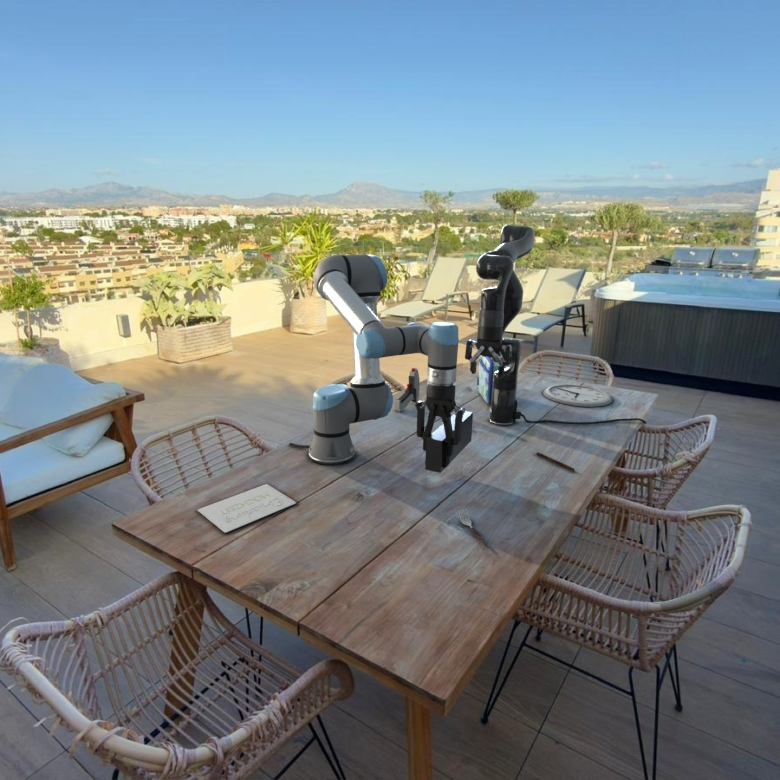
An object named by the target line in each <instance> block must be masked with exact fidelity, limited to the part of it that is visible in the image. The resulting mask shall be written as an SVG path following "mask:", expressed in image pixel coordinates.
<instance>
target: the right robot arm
mask: <svg viewBox="0 0 780 780" xmlns="http://www.w3.org/2000/svg"><path fill="white" fill-rule="evenodd" d="M535 239H536V232H535V229H534V228H533V227H531V226H527V225H516V224H505V225H504V226H503V227H502V229H501V232H500V236H499V246H497V247H496V248H495V249H494V250H491V251H488V252H485V253H484V254H482V255H481V256H480V257H479V258H478V260H477V262H476V264H475V272H476V275H477V276H478V277H479V278H480V279H481V280H485V281H487V280H488V281H497V285H496V286H492V287H487V288H483V289H482V290H481V292H480V299H479V300H480V301H479V311H478V317H477V333H476V340H473V339H469V340H467V341H466V343H465V344H466V345H465V353H464V359H465V360H468V361H469V362H470V365H469V371H470V373H471V375H475V374H476V373H477V366H478V361H477V360H478V359H480V358H481V355H482V356H483V357H486V356H487V357H490V358H492V361H493V362H497V363H498V364H499V365H500V366H499V367H498V370H497V371H495V372H494V374H493V385H492V398H491V404H490V407H489V412H490V413H489V414H490V415H489V422H490V423H491V424H494V425H497V426H511V425H513V424H516V423H517V420H521V417H522V418H523V421H524V422H526V423H527V424H528V423H529V424H530V423H531V424H536V423H537V424H538V423H553V424H564V425H597V424H605V423H613V422H614V423H615V422H626V421H627V422H630V421H631V422H632V421H640V422H642V423H643V424H645V425H647V424H648V422H647V421H645V420H644V419H642V418H638V417H633V418H632V417H631V418H615V419H614V418H613V419H608V420H607V419H606V420H598V421H597V420H596V421H563V420H551V419H539V420H534V421H533V420H529V419H527V417H526V416H525V415H524V414H523V413H522V411H520V410H519V409H518V399H517V388H518V377H519V376H518V375H519V366H520V359H521V353H522V343H521V341H520V340H519V339H518V338H517V339H516V338H503V335H504V333H505V331H506V329H507V328H508V326H509V325H510V324H511V323H512V322H513V320H514V319H515V318H517V316H518V314H519V313H520V311H521V310H522V307H523V300H524V299H523V298H524V288H523V285H522V282H521V280H520V279H519V277H518V275H517V273H516V271H515V269H514V266H515V265H514V264H515V262H516V261H517V260H520V259H521V258H523V257H525V256H527V255H528V254H530V253H531V252H532V251H533V249H534V245H535ZM474 347H476V350H477V351H476V352H475V353H474V354H473V348H474ZM472 354H473V355H472ZM505 366H508V367H506V368H505Z"/></svg>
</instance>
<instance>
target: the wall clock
mask: <svg viewBox="0 0 780 780" xmlns="http://www.w3.org/2000/svg"><path fill="white" fill-rule="evenodd" d="M543 396H544V397H546V398H547V399H549V400H551V401H554V402H555V403H560V404H563V405H569V406H574V407H585V408H586V407H588V408H594V407H595V408H596V407H604V406H609V405H610V404H611V403H612V402H613V398H612V396H611V395H610V394H608V393H607V392H605V391H604V390H601V389H598V388H594V387H590V386H586V385H579V384H556V385H551V386H549V387H546V388H545V389H544V390H543Z"/></svg>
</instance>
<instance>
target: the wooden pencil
mask: <svg viewBox="0 0 780 780" xmlns="http://www.w3.org/2000/svg"><path fill="white" fill-rule="evenodd" d="M535 455H536V456H538V457H541V458H543V459H545V460H547V461H549V462H552V463H553V464H555V465H558V466H560V467H562V468H564V469H566V470H569V471H571V472H575V468H574V467H572V466H570V465H567V464H566V463H564V462H561V461H558V460H557V459H554V458H552V457H549V456H548V455H546V454H543V453H541V452H539V451H537V452H536V454H535Z"/></svg>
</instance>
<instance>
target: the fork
mask: <svg viewBox="0 0 780 780" xmlns="http://www.w3.org/2000/svg"><path fill="white" fill-rule="evenodd" d="M457 512H458V516H459V519H460V521H461V523H462V524H463V525H464V526H468V527H469V528H470V529H471V531H472V533H473V534H474V537H476V539H478V541H480V543H481V544H482V545H483V546H484V547H485V548H486V549H489V547H488V545H487V543H486V541H485V540H484V539H483V537H482V535H481V534H480V532H479V531H477V529H475V528H474V527H473V525H472V519H471V518H470V516H469V514H468V511H467V510H464V509H462V510H459V509H457ZM465 512H466V513H465Z"/></svg>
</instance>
